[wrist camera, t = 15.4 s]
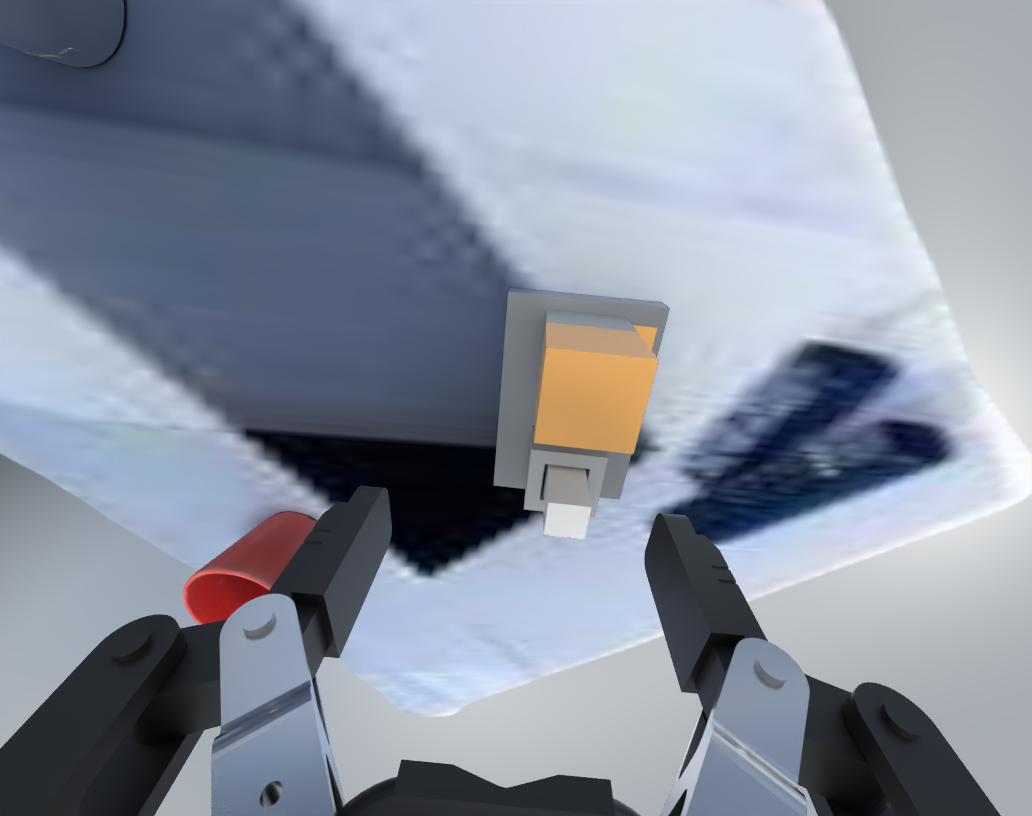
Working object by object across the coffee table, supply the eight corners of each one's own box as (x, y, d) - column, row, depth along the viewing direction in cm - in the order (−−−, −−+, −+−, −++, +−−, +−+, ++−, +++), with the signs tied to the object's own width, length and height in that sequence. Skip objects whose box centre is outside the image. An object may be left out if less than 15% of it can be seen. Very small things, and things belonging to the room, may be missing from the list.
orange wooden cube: (546, 322, 26) (546, 347, 21) (636, 332, 25) (658, 359, 20) (535, 403, 28) (534, 442, 23) (617, 412, 28) (633, 454, 23)
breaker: (547, 458, 32) (548, 502, 27) (584, 462, 32) (591, 507, 27) (543, 487, 33) (543, 534, 28) (578, 491, 33) (584, 539, 28)
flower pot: (321, 493, 41) (262, 567, 33) (359, 566, 46) (316, 647, 37) (235, 504, 43) (156, 577, 34) (280, 573, 48) (221, 653, 39)
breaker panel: (510, 287, 30) (502, 302, 25) (662, 302, 30) (687, 321, 25) (495, 472, 39) (488, 514, 33) (616, 486, 38) (627, 530, 33)
